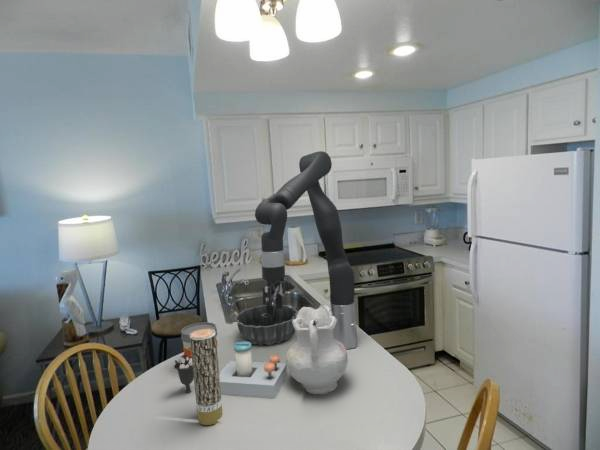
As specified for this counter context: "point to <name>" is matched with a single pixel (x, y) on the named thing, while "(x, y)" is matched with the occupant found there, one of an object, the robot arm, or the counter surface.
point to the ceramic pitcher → (316, 351)
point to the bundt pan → (266, 324)
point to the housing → (252, 381)
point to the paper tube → (206, 376)
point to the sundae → (185, 370)
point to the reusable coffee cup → (191, 328)
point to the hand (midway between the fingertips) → (275, 312)
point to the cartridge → (243, 359)
